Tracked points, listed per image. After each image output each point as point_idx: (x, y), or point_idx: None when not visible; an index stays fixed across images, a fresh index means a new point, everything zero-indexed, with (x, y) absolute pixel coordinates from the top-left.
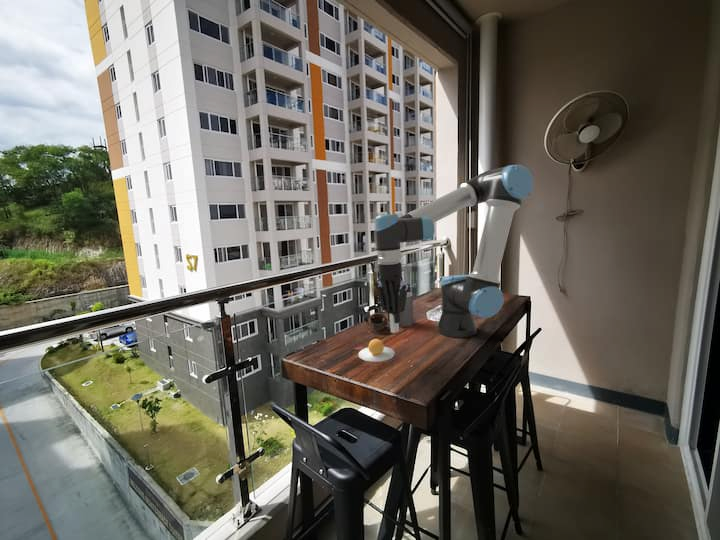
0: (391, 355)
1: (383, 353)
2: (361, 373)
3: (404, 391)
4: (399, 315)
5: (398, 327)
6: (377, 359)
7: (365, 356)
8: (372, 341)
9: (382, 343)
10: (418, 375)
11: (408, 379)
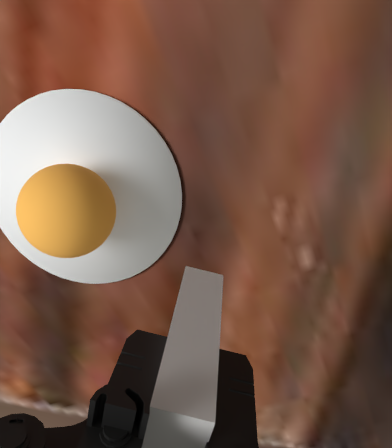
0: (168, 192)
1: (116, 183)
2: None
3: (334, 432)
4: (255, 426)
5: (221, 296)
6: (125, 258)
7: None
8: (40, 245)
9: (98, 210)
10: (359, 327)
11: (326, 364)
